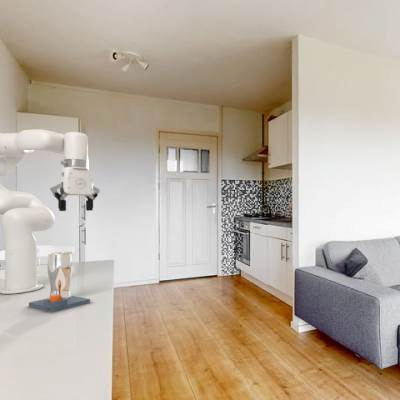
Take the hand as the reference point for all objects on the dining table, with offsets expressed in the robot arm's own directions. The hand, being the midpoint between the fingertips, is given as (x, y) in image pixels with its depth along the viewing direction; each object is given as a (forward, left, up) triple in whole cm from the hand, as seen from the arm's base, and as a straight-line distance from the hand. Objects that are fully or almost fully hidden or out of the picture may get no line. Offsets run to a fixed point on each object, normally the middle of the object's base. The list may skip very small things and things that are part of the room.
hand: (76, 210), depth 129 cm
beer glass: (+12, -11, -29) cm, 33 cm away
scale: (+14, -13, -30) cm, 36 cm away
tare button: (+18, -16, -28) cm, 37 cm away
